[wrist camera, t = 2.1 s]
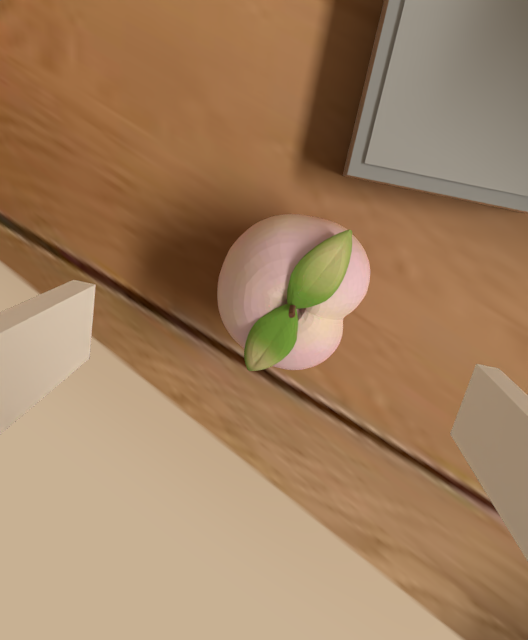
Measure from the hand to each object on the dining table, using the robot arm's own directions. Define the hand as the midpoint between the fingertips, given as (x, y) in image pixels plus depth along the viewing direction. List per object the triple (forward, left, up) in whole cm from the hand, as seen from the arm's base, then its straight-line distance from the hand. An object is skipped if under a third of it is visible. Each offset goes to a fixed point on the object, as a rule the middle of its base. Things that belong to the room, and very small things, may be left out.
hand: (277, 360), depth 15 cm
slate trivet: (+13, -8, -17) cm, 22 cm away
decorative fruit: (0, 0, -17) cm, 17 cm away
